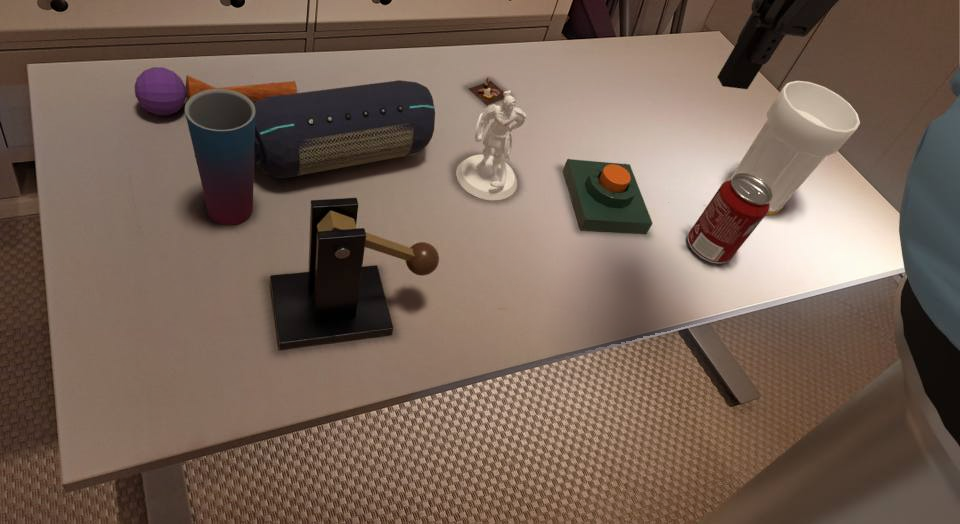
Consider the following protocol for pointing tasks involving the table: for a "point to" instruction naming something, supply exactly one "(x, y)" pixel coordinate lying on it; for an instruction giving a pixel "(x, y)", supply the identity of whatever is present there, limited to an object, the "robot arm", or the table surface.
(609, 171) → the button
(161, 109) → the kendama
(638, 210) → the button box
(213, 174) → the cup
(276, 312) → the switch bracket
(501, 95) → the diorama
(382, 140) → the portable speaker
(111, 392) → the table surface
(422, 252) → the switch lever
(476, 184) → the figurine
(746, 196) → the soda can
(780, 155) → the cup
